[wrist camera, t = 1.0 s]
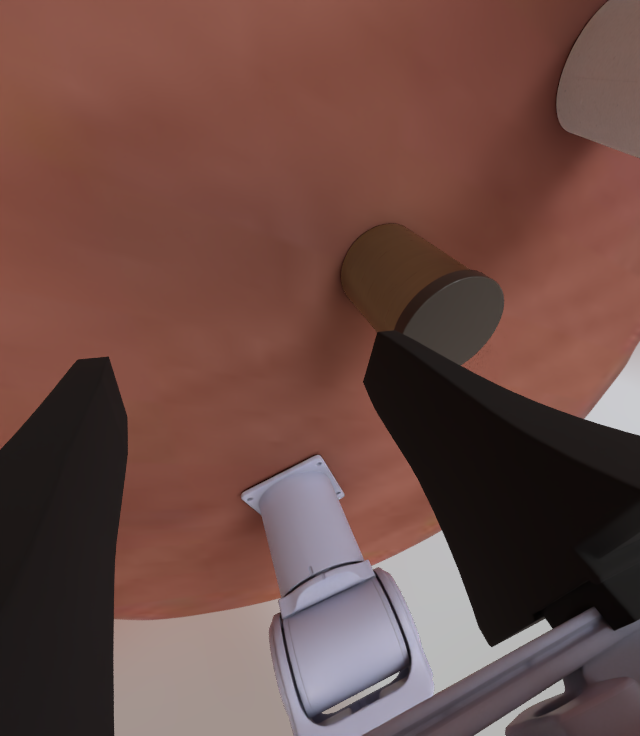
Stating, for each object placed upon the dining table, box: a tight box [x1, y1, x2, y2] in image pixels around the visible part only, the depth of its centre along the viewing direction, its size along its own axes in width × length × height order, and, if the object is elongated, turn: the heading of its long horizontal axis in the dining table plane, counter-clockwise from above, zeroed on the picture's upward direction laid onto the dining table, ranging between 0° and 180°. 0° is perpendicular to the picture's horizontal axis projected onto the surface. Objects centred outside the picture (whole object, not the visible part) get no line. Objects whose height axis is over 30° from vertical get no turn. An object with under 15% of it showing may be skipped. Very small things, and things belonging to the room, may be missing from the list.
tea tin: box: [341, 224, 504, 365], centre depth 18 cm, size 6×6×7 cm
